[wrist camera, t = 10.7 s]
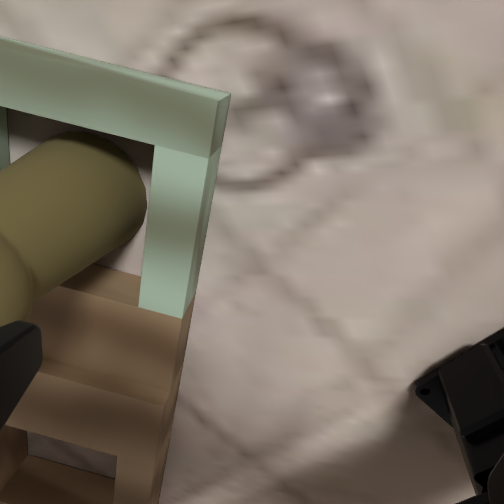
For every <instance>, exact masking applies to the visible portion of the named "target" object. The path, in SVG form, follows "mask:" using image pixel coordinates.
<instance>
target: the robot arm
mask: <svg viewBox="0 0 504 504" xmlns="http://www.w3.org/2000/svg"><path fill="white" fill-rule="evenodd" d="M42 361H43V346H42V332H41V328H40V326H39V325H37V324H34V323H30V322H26V321H21V320H18V321H14V322H11V323H9V324H6V325H3V326H1V327H0V431H1V430H2V428H3V427H4V425H5V424H6V422H7V420H8V419H9V417H10V416H11V414H12V412H13V411H14V409H15V408H16V406H17V404H18V403H19V401H20V400H21V398H22V396H23V395H24V393H25V391H26V390H27V388H28V387H29V385H30V383H31V382H32V380H33V379H34V377H35V375H36V374H37V372H38V371H39V369H40V367H41V364H42ZM423 388H427V389H425V390H422V389H423ZM414 389H415V393H416V395H417V396H418V397H419V398H420V399H421V400H422V401H424V402H425V403H426V404H427V405H428V406H429V407H430V408H431V409H433V410H434V411H435V412H436V413H437V414H438V415H439V416H440V417H442V418H443V419H444V420H445V421H446V422H447V423H448V424H449V425H451V426H452V427H453V428H454V431H455V434H456V437H457V440H458V443H459V446H460V449H461V452H462V455H463V458H464V461H465V464H466V467H467V470H468V473H469V476H470V479H471V482H472V485H473V487H474V490H475V493H476V496H473V497H471V498H468V499H466V500H464V501H461V502H459V503H456V504H504V330H502V331H501V332H499V333H497V334H496V335H494V336H492V337H491V338H489V339H487V340H486V341H484V342H482V343H480V344H479V345H477V346H475V347H474V348H472V349H470V350H469V351H467V352H465V353H464V354H462V355H460V356H458V357H457V358H455V359H453V360H452V361H450V362H448V363H447V364H445V365H443V366H442V367H440V368H438V369H436V370H435V371H433V372H431V373H430V374H428V375H426V376H425V377H423V378H421V379H420V380H418V381H417V382H415V384H414Z"/></svg>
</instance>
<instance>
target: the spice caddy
mask: <svg viewBox="0 0 504 504" xmlns="http://www.w3.org/2000/svg"><path fill="white" fill-rule="evenodd" d="M230 97H231V93H227V92H223V91H219V90H215V89H211V88H207V87H203V86H198V85H194V84H190V83H186V82H182V81H178V80H174V79H170V78H166V77H162V76H158V75H154V74H150V73H146V72H142V71H138V70H134V69H130V68H126V67H122V66H118V65H114V64H110V63H106V62H102V61H97V60H93V59H89V58H85V57H81V56H77V55H73V54H69V53H65V52H61V51H57V50H53V49H49V48H45V47H41V46H37V45H33V44H29V43H25V42H21V41H17V40H13V39H9V38H5V37H1V36H0V171H1V170H2V169H4V168H5V167H7V166H9V165H10V159H9V144H8V128H7V112H6V108H10V109H14V110H18V111H22V112H26V113H30V114H34V115H38V116H42V117H46V118H50V119H54V120H58V121H62V122H66V123H70V124H73V125H77V126H81V127H85V128H89V129H93V130H97V131H101V132H105V133H109V134H113V135H117V136H121V137H125V138H129V139H133V140H136V141H140V142H144V143H148V144H152V145H155V148H154V158H153V168H152V178H151V188H150V197H149V207H148V217H147V227H146V237H145V246H144V256H143V266H142V276H141V277H140V276H136V275H132V274H128V273H125V272H121V271H117V270H113V269H110V268H106V267H102V266H98V265H95V264H91V265H89V266H88V267H86V268H85V269H83V270H82V271H80V272H79V273H77V274H76V275H74V276H72V277H71V278H69V279H68V280H66V281H65V282H63V283H62V284H60V285H59V286H57V287H56V288H54V289H53V290H51V291H50V292H48V293H46V294H45V295H43V296H42V297H40V298H39V299H37V300H36V301H34V302H33V304H32V312H31V314H30V316H29V318H28V320H27V322H30V323H34V324H37V325H39V326H40V328H41V332H42V346H43V361H42V364H41V367H40V369H39V371H38V372H37V374H36V375H35V377H34V379H33V380H32V382H31V383H30V385H29V387H28V388H27V390H26V391H25V393H24V395H23V396H22V398H21V400H20V401H19V403H18V404H17V406H16V408H15V409H14V411H13V412H12V414H11V416H10V417H9V419H8V420H7V422H6V424H5V425H4V427H3V428H2V430H1V431H0V504H158V502H159V496H160V491H161V485H162V479H163V474H164V468H165V463H166V457H167V451H168V446H169V440H170V434H171V429H172V423H173V418H174V412H175V406H176V401H177V395H178V389H179V384H180V378H181V373H182V367H183V361H184V356H185V350H186V344H187V339H188V333H189V328H190V322H191V316H192V311H193V305H194V299H195V294H196V288H197V283H198V277H199V271H200V266H201V260H202V254H203V249H204V243H205V238H206V232H207V226H208V221H209V215H210V209H211V204H212V198H213V193H214V187H215V181H216V176H217V170H218V164H219V159H220V153H221V148H222V142H223V136H224V131H225V125H226V119H227V114H228V108H229V103H230ZM27 431H29V432H33V433H36V434H40V435H43V436H47V437H50V438H54V439H57V440H61V441H64V442H68V443H71V444H75V445H79V446H82V447H86V448H89V449H93V450H96V451H100V452H103V453H107V454H110V455H114V456H117V465H116V476H115V479H112V478H108V477H105V476H101V475H98V474H94V473H91V472H87V471H84V470H80V469H77V468H73V467H70V466H66V465H63V464H59V463H56V462H52V461H49V460H45V459H42V458H38V457H35V456H31V455H28V446H27Z"/></svg>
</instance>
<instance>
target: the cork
mask: <svg viewBox="0 0 504 504" xmlns="http://www.w3.org/2000/svg"><path fill="white" fill-rule="evenodd" d="M146 209H147V200H146V190H145V186H144V184H143V181H142V179H141V176H140V174H139V172H138V169H137V168H136V167H135V165H134V164H133V163H132V162H131V160H130V159H129V158H128V156H127V155H126V154H125V153H124V152H123V151H122V150H120V149H119V148H118V147H116V146H115V145H114V144H112V143H111V142H110V141H108V140H107V139H104V138H102V137H99V136H97V135H94V134H91V133H89V132H74V131H68V132H65V133H62V134H59V135H56V136H52V137H51V138H49V139H48V140H46V141H45V142H43V143H42V144H40V145H39V146H37V147H36V148H34V149H33V150H31V151H30V152H28V153H27V154H25V155H24V156H22V157H21V158H19V159H18V160H16V161H15V162H13V163H12V164H10V165H9V166H7V167H5V168H4V169H2V170H1V171H0V327H1V326H3V325H6V324H9V323H11V322H14V321H18V320H21V321H26V322H27V320H28V318H29V316H30V314H31V312H32V304H33V302H34V301H36V300H37V299H39V298H40V297H42V296H43V295H45V294H46V293H48V292H50V291H51V290H53V289H54V288H56V287H57V286H59V285H60V284H62V283H63V282H65V281H66V280H68V279H69V278H71V277H72V276H74V275H76V274H77V273H79V272H80V271H82V270H83V269H85V268H86V267H88V266H89V265H91V264H92V263H94V262H95V261H97V260H98V259H100V258H102V257H103V256H105V255H106V254H108V253H109V252H111V251H112V250H114V249H115V248H117V247H118V246H120V245H121V244H123V243H124V242H126V241H127V240H129V239H130V238H132V237H133V236H135V234H136V233H137V231H138V230H139V228H140V227H141V225H142V224H143V222H144V218H145V213H146Z"/></svg>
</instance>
